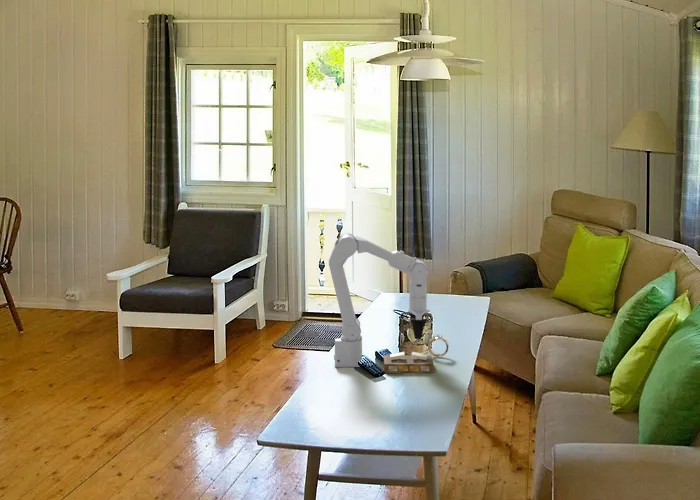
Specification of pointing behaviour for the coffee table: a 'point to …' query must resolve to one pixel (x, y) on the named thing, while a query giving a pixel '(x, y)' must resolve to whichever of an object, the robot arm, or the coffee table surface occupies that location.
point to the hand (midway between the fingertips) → (417, 335)
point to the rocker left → (397, 355)
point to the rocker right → (419, 355)
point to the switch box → (408, 365)
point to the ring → (438, 339)
